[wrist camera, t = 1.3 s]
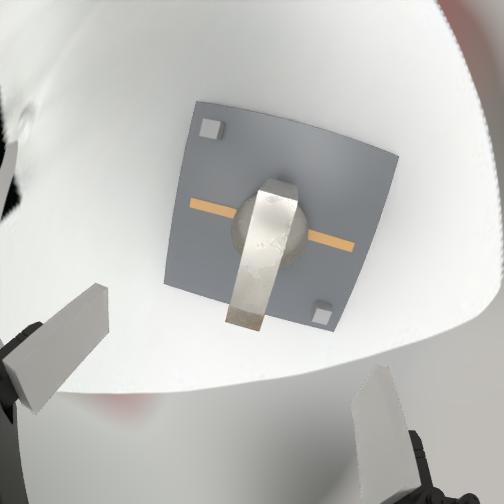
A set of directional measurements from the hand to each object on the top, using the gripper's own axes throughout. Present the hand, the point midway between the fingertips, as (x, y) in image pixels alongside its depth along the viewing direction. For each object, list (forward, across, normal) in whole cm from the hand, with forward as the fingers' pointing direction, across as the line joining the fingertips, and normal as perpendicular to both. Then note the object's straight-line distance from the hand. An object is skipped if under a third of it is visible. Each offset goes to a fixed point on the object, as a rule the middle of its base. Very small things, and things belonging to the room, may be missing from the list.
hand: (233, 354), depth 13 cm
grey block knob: (+21, 0, 0) cm, 21 cm away
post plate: (+24, 0, 0) cm, 24 cm away
